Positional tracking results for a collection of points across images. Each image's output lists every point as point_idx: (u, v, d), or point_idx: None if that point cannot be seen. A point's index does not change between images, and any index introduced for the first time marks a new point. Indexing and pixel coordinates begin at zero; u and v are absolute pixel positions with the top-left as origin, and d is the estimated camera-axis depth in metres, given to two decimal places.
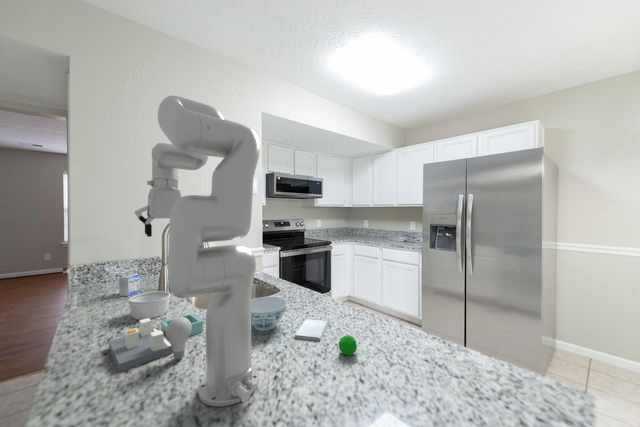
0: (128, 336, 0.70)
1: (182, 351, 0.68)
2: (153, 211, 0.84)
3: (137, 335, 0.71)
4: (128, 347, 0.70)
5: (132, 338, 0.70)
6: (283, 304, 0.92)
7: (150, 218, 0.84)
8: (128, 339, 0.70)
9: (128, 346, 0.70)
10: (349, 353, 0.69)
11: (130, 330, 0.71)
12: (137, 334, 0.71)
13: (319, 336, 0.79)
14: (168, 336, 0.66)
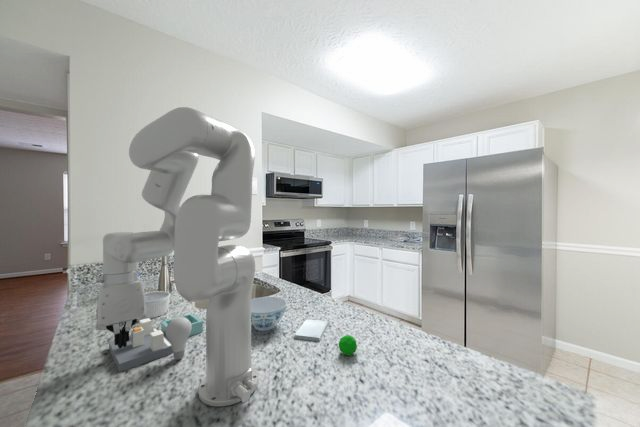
0: (134, 334, 0.71)
1: (182, 351, 0.68)
2: (103, 318, 0.65)
3: (142, 333, 0.72)
4: (134, 345, 0.71)
5: (138, 336, 0.71)
6: (283, 304, 0.92)
7: (114, 326, 0.68)
8: (134, 337, 0.71)
9: (134, 344, 0.71)
10: (349, 353, 0.69)
11: (135, 329, 0.72)
12: (142, 332, 0.72)
13: (319, 336, 0.79)
14: (168, 336, 0.66)
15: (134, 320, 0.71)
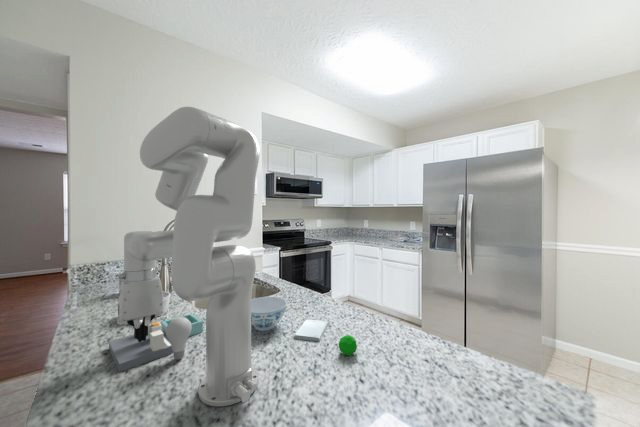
0: (152, 329, 0.74)
1: (182, 351, 0.68)
2: (124, 313, 0.68)
3: (160, 328, 0.75)
4: None
5: None
6: (283, 304, 0.92)
7: (135, 321, 0.71)
8: None
9: None
10: (349, 353, 0.69)
11: (154, 324, 0.75)
12: (160, 327, 0.75)
13: (318, 336, 0.79)
14: (168, 336, 0.66)
15: (153, 315, 0.74)
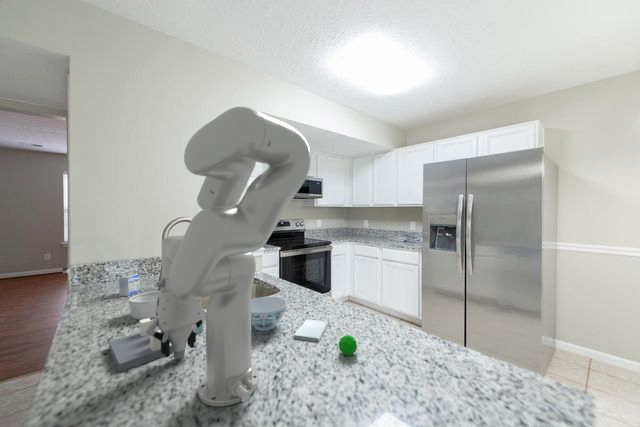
0: None
1: (182, 351, 0.68)
2: (164, 323, 0.64)
3: None
4: None
5: None
6: (283, 304, 0.92)
7: (165, 333, 0.65)
8: None
9: None
10: (349, 353, 0.69)
11: None
12: None
13: (318, 337, 0.79)
14: (169, 335, 0.66)
15: (200, 321, 0.72)
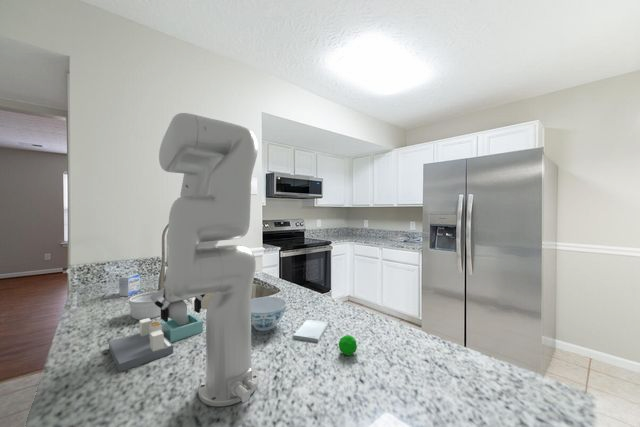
0: (152, 329, 0.74)
1: (187, 323, 0.84)
2: (170, 295, 0.79)
3: (160, 328, 0.75)
4: None
5: None
6: (283, 304, 0.92)
7: (166, 302, 0.80)
8: None
9: None
10: (349, 353, 0.69)
11: (154, 323, 0.75)
12: (160, 327, 0.75)
13: (317, 337, 0.78)
14: (169, 317, 0.81)
15: None
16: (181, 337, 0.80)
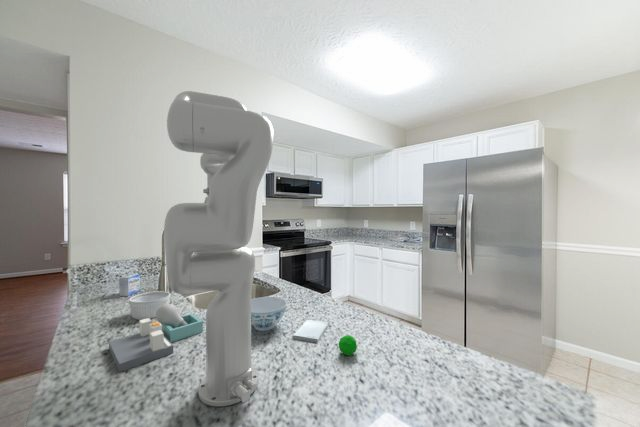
0: (152, 329, 0.74)
1: (182, 322, 0.84)
2: None
3: (160, 328, 0.75)
4: None
5: None
6: (283, 304, 0.92)
7: None
8: None
9: None
10: (349, 353, 0.69)
11: (154, 323, 0.75)
12: (160, 327, 0.75)
13: (317, 337, 0.78)
14: (161, 322, 0.81)
15: None
16: (181, 337, 0.80)
